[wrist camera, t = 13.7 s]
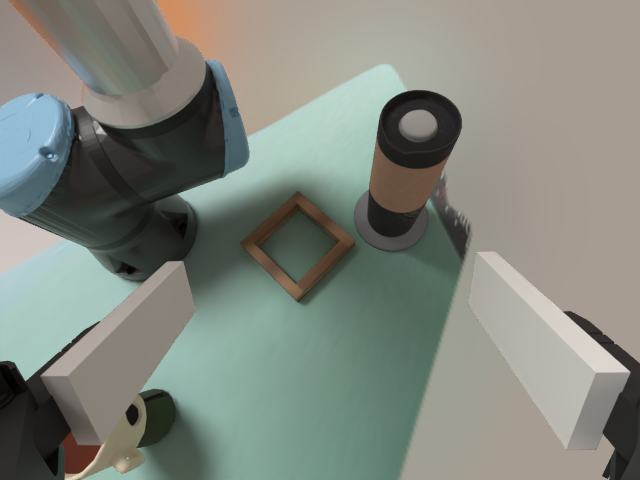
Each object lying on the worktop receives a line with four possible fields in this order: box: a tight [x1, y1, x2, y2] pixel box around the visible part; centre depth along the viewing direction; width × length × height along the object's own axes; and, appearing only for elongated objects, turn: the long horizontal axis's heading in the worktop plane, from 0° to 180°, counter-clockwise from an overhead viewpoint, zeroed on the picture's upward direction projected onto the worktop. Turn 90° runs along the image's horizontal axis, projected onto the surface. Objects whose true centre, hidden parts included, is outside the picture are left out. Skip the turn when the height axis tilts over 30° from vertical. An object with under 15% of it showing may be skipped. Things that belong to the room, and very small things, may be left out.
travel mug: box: [367, 90, 462, 237], centre depth 37 cm, size 8×8×20 cm
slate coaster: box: [354, 190, 428, 251], centre depth 47 cm, size 11×11×1 cm
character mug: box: [61, 389, 175, 480], centre depth 33 cm, size 11×7×13 cm, turn 58°
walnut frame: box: [240, 192, 355, 302], centre depth 46 cm, size 12×12×2 cm
